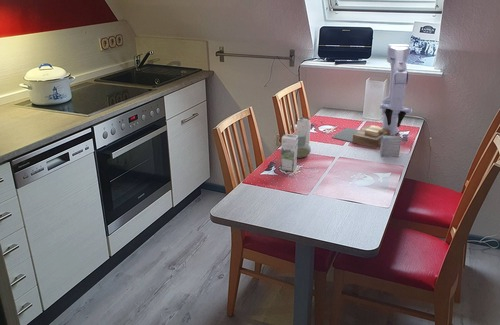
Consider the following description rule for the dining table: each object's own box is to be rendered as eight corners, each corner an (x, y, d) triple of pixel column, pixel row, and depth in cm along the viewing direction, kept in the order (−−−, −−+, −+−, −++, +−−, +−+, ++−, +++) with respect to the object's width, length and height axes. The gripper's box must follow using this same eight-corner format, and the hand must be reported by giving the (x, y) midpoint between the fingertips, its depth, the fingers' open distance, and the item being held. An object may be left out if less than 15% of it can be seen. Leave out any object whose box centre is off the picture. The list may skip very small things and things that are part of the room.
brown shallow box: (366, 132, 234) (367, 125, 233) (389, 137, 228) (390, 129, 226) (352, 142, 221) (353, 134, 219) (376, 148, 214) (377, 140, 213)
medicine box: (397, 153, 208) (399, 135, 205) (399, 157, 204) (401, 139, 201) (379, 153, 209) (381, 135, 205) (380, 156, 205) (383, 138, 201)
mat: (346, 128, 240) (346, 127, 240) (365, 132, 234) (365, 131, 234) (331, 137, 226) (331, 137, 226) (351, 142, 221) (351, 141, 221)
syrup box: (296, 166, 193) (298, 134, 188) (293, 172, 188) (295, 139, 182) (283, 165, 195) (285, 133, 189) (280, 170, 190) (281, 137, 184)
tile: (371, 129, 227) (372, 125, 226) (383, 131, 224) (383, 127, 223) (364, 133, 220) (365, 130, 220) (376, 136, 217) (377, 132, 216)
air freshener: (288, 159, 200) (289, 138, 196) (283, 153, 208) (284, 132, 204) (312, 158, 202) (314, 137, 198) (306, 151, 210) (308, 130, 206)
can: (311, 142, 221) (312, 118, 216) (306, 146, 215) (308, 122, 211) (298, 139, 223) (299, 116, 219) (294, 144, 218) (295, 120, 213)
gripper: (379, 96, 211) (375, 124, 216) (410, 102, 203) (406, 131, 208) (384, 93, 216) (381, 121, 221) (415, 98, 208) (411, 126, 214)
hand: (393, 125), depth 215 cm, fingers open, 4 cm apart
